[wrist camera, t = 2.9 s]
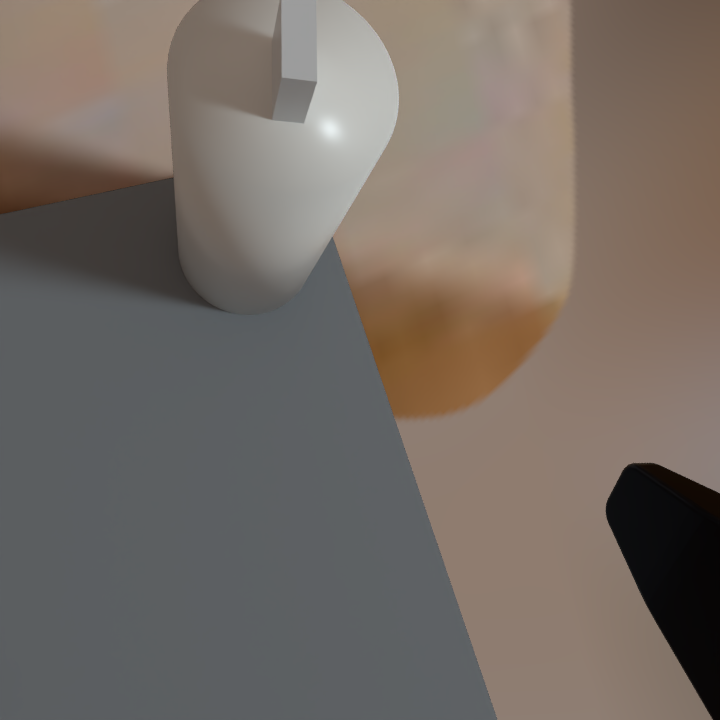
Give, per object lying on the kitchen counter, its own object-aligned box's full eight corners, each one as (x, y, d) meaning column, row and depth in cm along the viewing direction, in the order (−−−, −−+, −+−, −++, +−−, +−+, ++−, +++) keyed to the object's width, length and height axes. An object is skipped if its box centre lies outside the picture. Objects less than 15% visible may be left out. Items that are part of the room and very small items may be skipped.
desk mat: (505, 764, 22) (515, 774, 21) (-88, 1080, 17) (-101, 1109, 16) (299, 160, 24) (302, 150, 23) (-294, 289, 19) (-314, 281, 18)
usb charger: (312, 317, 22) (427, 169, 11) (176, 312, 21) (159, 145, 10) (311, 193, 23) (418, -57, 12) (179, 182, 22) (166, -102, 11)
